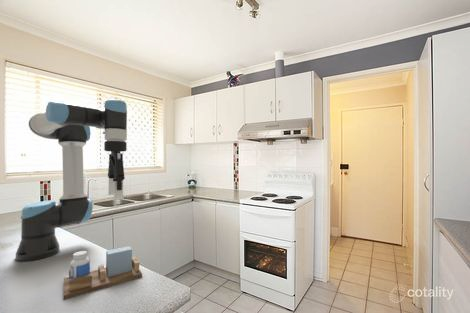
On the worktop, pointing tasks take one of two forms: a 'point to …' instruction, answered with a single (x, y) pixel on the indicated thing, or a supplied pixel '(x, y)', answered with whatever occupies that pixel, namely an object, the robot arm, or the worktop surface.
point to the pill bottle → (80, 264)
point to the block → (118, 261)
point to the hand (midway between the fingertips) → (115, 197)
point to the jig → (98, 280)
